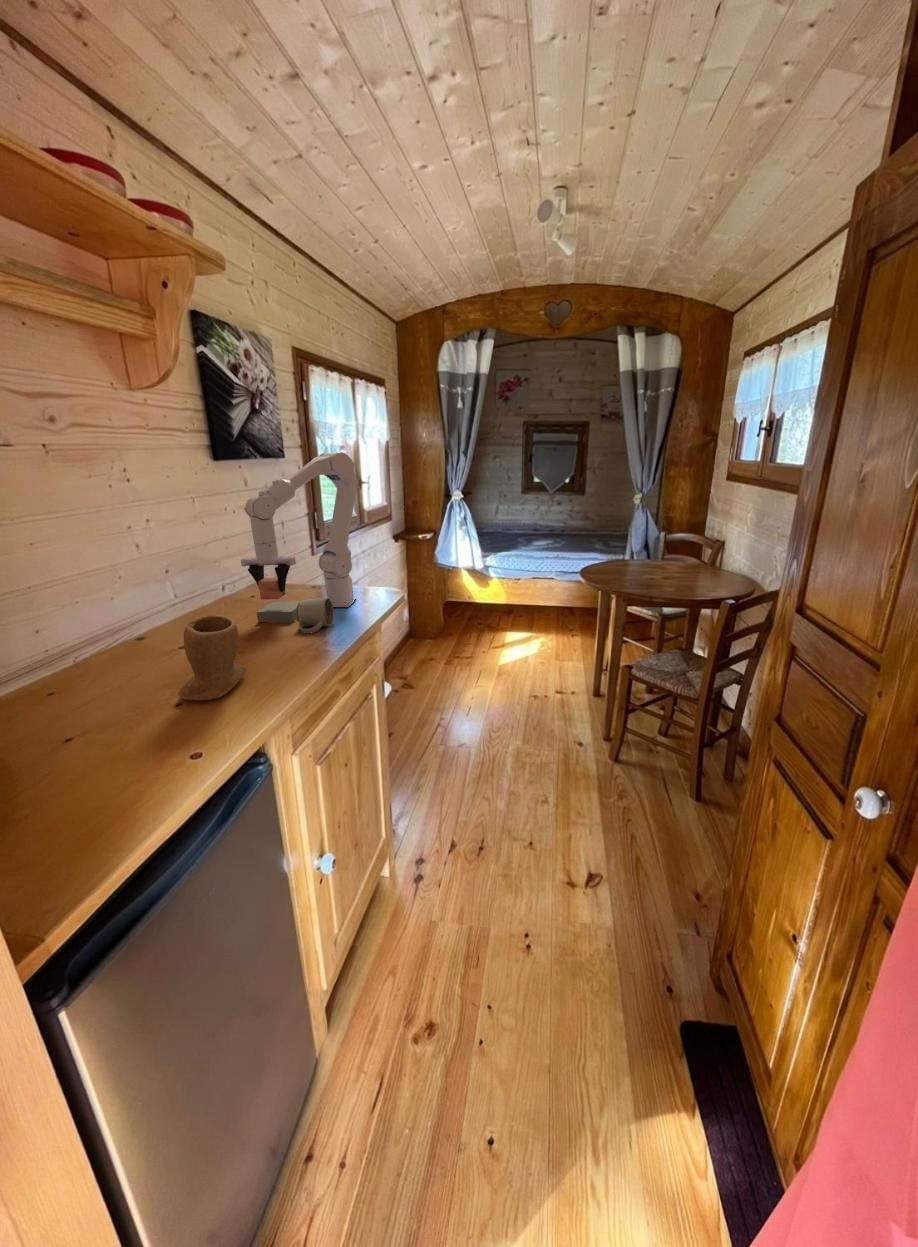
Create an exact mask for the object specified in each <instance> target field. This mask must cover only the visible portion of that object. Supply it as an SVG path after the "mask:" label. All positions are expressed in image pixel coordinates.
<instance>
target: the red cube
mask: <svg viewBox="0 0 918 1247" xmlns="http://www.w3.org/2000/svg"><path fill="white" fill-rule="evenodd" d="M258 585H259V587H258V589H259V597H260V600H280V599H281V598H282V597H284V596H285V595H286V590H285V591H283V592H280V589H279V583H278V578H277V576H264V578H263V579H262V580H260V581H258ZM258 585H257V586H258Z"/></svg>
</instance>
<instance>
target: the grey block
mask: <svg viewBox="0 0 918 1247" xmlns="http://www.w3.org/2000/svg"><path fill="white" fill-rule="evenodd" d="M299 602H300V601H271V602H269V603H268V604H266V605H265V606H264V607H262V608H260V609H259V610H258V611H256V617H257V623H258V622H293V621H294V620H296V619H297V615H296V609H297V605H298V603H299ZM296 621H297V620H296ZM294 622H295V621H294ZM294 622H293V623H294Z"/></svg>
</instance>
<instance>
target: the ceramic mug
mask: <svg viewBox="0 0 918 1247" xmlns="http://www.w3.org/2000/svg"><path fill="white" fill-rule="evenodd" d="M298 602H299V603H298V605H297V609H296V615H297V620H296V621H298V622H297V623H298V628H299V630H300V632H301V633H303V632H305V633H304V634H307V633H309V634H312V633H311V632H313V633H315V632H317V631H319V630H320V629H321V628H323V627H324V628H325V627H326V628H327V627H331V626H332V625H333V622H334V618H335V617H334V615H335V614H334V613H335V612H334V608H333V605H332V602H331V600H330V599H329V598H327V597H319V598H309V599H308V598H307V599H302V600H300V601H298ZM330 625H331V626H330ZM307 626H308V627H310V626H313V627H311V628H308V627H307ZM303 627H307V628H303Z"/></svg>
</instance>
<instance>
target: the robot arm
mask: <svg viewBox="0 0 918 1247" xmlns="http://www.w3.org/2000/svg"><path fill="white" fill-rule="evenodd" d="M354 469H355V462H354V461H353V460H352V458H351V457H350V455H348V454H347V453H346V452H343V451H339V452H322V453H320V454H319V455H318V456H316V457H314V458H313V459H311V460H310V461H309V462H308V463H307V464H305V465H304V466H303V467H301V469H299V470H298V471H297V472H295V473H294V474H292V476H290V477H289V478H287V479H284V478H279V479H273V480H272V481H271V483H272V484H271V485H270V486H268V487H267V488H265V489H264V490H259V491H258V492H257V493H258V495H256V496H251V497H250V498H248V499H247V500H246V503H245V507H244V512H245V514H246V515H247V516H248V517H249V520H250V526H251V532H252V533H251V534H252V539H253V545H254V546H253V547H254V552H255V557H244V558H242V559H240V565H241V567H242V568H243V567H245V568H246V567H248V569H247V571H248V574H250V576H252V578H253V580H254V581H255V584H257V588H259V585H258V581H260V580H262V579H263V578H265V566H275V567H274V571H275V575H276V577H277V578H278V583H279V589H280V592H283V591H285V592H286V584H287V577H288V574H289V570H290V568H291V566H295V565H296V564H297V562H296V557H295V556H280V555H279V550H278V544H277V537H276V532H275V524H274V519H273V517H274V516H275V513H276V511H277V510H278V509H280V508H281V507H282V506H283V505H285V504H286V503H288V502H289V501H291V500H292V499H294V498H295V495H296V491H297V489H299V488H301V487H302V486H303V485H306V484H307V483H308V482H310V481H312V480H313V479H315V478H316V477H317V476H324V477H327V479H328V480H330V481H331V482H332V483H333V486H335V487H336V495H335V501H334V506H333V512H332V520H331V524H330V532H329V537H328V542H326V544H325V546H323V551H322V553H321V555H320V556H319V559H318V566H319V569H320V570H321V571H322V572H323V578H324V587H325V595H326V597H325V598H329V599H330V600H331V602H332V605H333V607H348V608H350V607H351V606H352V605H353V604H354V603H355V601H354V599H353V598H355V597H354V589H353V588H354V586H353V579H352V577H351V575H350V573H351V571H352V568H353V562H352V552H351V550H350V548H349V546H348V544H349V543H348V542H349V538H350V537H349V536H350V530H351V525H352V519H353V518H352V517H353V513H354V505H355V500H356V494H357V489H358V488H357V486H358V483H357V479H356V475H355V470H354ZM353 602H354V603H353ZM352 603H353V604H352ZM351 604H352V605H351ZM350 605H351V606H350ZM349 606H350V607H349Z"/></svg>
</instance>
